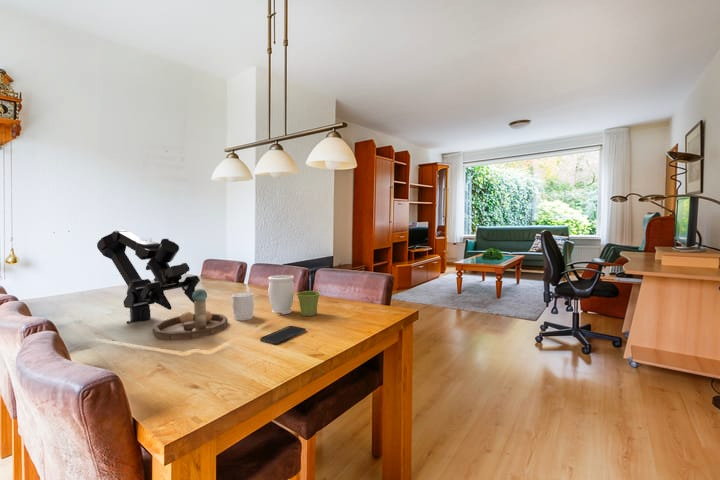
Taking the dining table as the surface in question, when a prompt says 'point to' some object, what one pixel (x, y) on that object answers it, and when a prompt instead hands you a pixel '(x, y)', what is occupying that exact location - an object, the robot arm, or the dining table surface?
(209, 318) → the loose bead
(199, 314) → the bead post
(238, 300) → the white cup
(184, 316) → the loose bead
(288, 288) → the jar
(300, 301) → the plant pot
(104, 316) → the dining table surface
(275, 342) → the phone
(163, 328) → the walnut tray
